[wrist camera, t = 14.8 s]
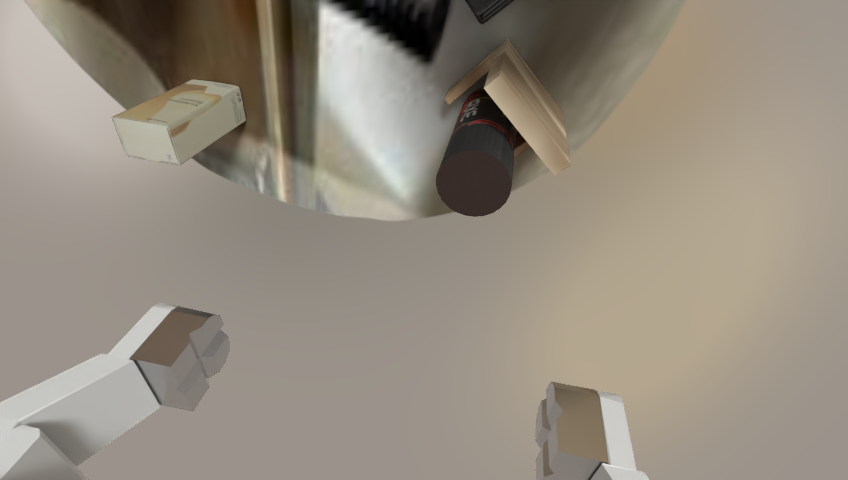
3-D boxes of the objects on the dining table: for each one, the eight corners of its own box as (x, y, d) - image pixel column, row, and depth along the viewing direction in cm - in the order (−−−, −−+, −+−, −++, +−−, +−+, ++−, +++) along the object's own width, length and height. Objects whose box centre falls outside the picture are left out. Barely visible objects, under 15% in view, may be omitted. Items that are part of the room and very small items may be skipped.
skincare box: (240, 85, 49) (169, 125, 40) (247, 121, 52) (183, 167, 42) (189, 77, 50) (107, 115, 40) (198, 113, 53) (124, 157, 43)
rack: (503, 153, 48) (495, 211, 38) (449, 89, 45) (426, 135, 35) (562, 112, 44) (570, 165, 34) (507, 38, 41) (499, 75, 31)
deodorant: (488, 74, 43) (471, 134, 31) (529, 114, 45) (527, 185, 33) (449, 116, 46) (421, 184, 35) (489, 152, 48) (474, 228, 36)
